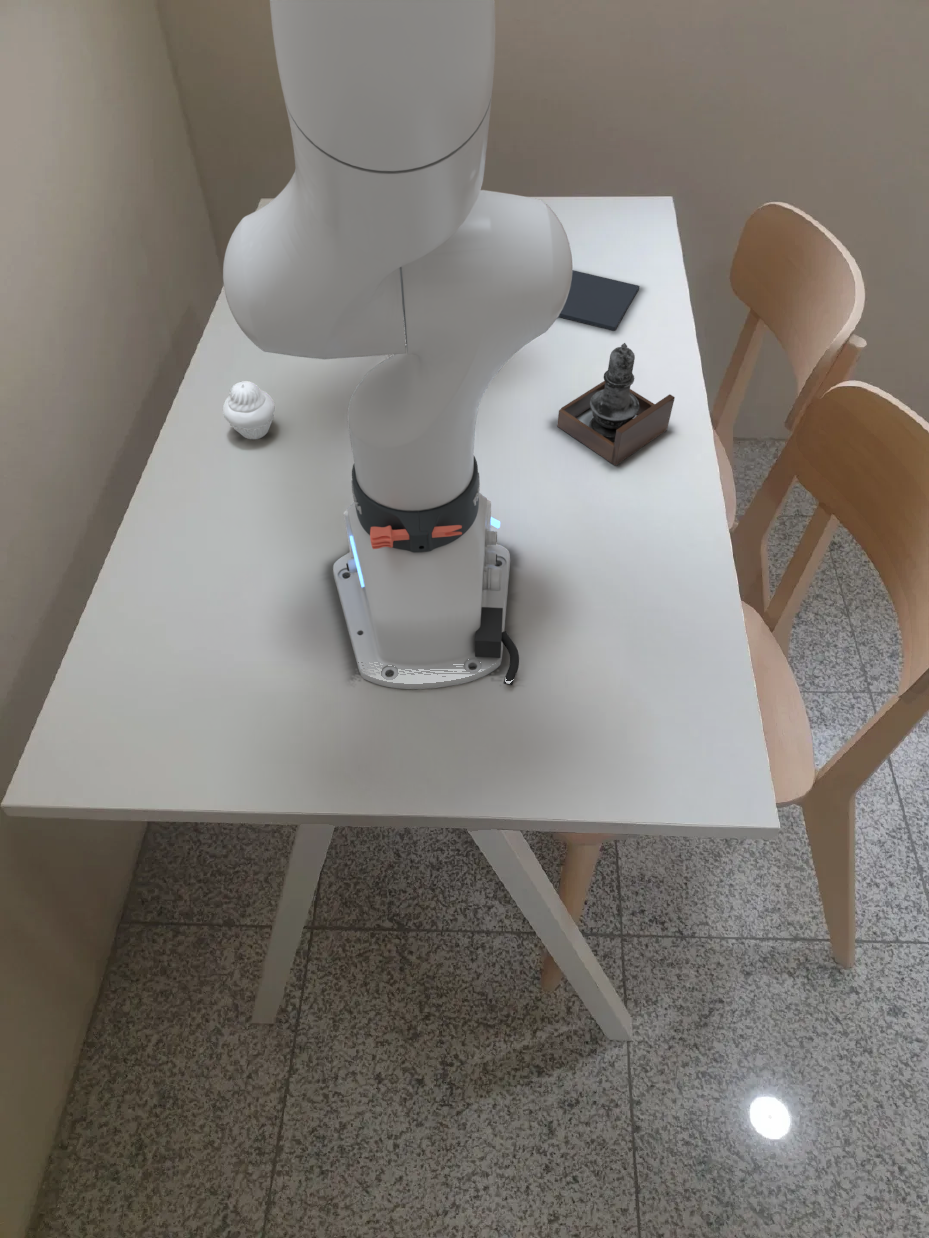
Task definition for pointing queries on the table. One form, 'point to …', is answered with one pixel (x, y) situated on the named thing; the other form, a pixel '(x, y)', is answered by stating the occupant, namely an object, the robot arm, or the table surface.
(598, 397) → the dark grey chess piece
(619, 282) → the mat
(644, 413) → the wooden square frame
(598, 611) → the table surface
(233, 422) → the muffin
